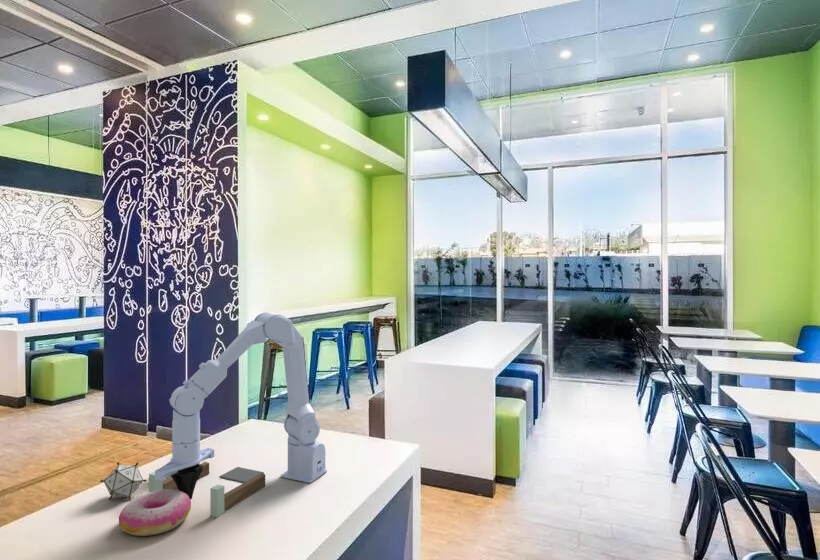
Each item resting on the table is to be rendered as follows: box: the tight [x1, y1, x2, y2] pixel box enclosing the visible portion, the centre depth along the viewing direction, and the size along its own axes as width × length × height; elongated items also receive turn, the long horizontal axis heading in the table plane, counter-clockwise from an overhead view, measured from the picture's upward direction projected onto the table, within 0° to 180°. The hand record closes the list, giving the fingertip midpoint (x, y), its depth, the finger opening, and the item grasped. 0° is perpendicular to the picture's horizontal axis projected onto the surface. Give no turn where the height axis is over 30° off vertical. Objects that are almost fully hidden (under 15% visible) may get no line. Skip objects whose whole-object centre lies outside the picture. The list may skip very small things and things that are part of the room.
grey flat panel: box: [218, 466, 265, 484], centre depth 121 cm, size 9×6×1 cm
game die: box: [99, 461, 148, 502], centre depth 109 cm, size 9×8×10 cm
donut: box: [118, 489, 192, 537], centre depth 97 cm, size 14×13×5 cm
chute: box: [148, 461, 266, 518], centre depth 111 cm, size 21×16×6 cm
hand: (186, 499), depth 105 cm, fingers closed
